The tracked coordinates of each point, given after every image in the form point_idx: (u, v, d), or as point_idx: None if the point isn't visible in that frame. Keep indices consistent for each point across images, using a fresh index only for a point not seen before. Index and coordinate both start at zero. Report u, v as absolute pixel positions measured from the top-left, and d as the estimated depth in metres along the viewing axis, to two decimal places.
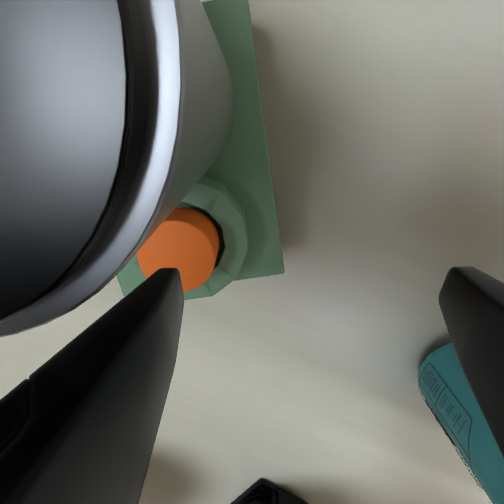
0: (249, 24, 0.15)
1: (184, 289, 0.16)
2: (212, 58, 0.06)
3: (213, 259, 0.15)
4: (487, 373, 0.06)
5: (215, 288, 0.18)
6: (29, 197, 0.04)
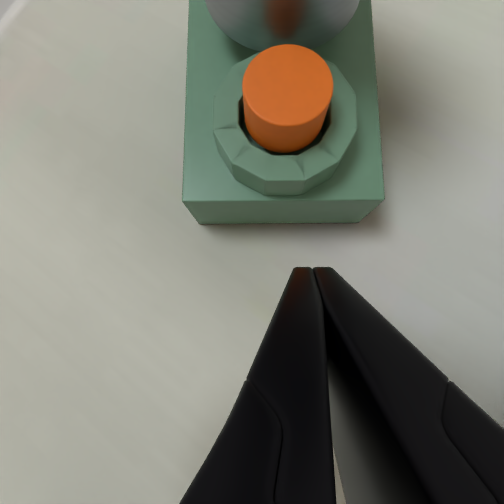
0: None
1: (289, 122, 0.13)
2: None
3: (331, 90, 0.13)
4: None
5: (310, 170, 0.14)
6: None
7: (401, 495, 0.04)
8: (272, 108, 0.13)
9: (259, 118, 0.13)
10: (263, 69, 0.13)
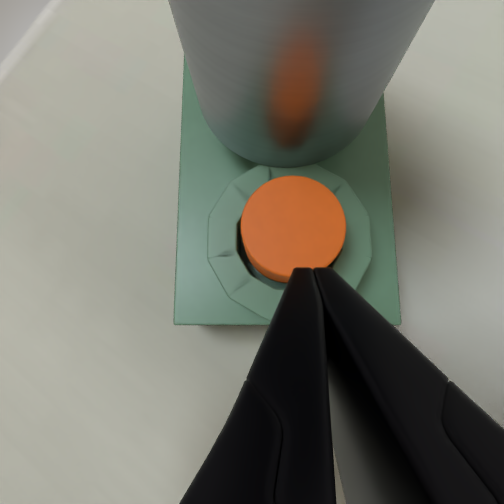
0: None
1: None
2: None
3: (344, 234, 0.11)
4: None
5: None
6: None
7: (401, 494, 0.04)
8: (275, 255, 0.11)
9: (260, 266, 0.11)
10: (265, 206, 0.11)
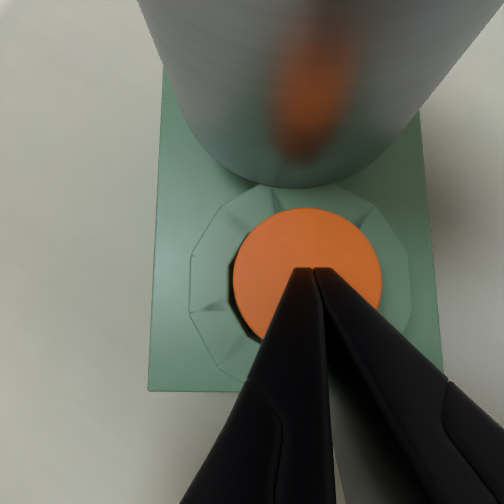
0: None
1: None
2: None
3: (379, 292, 0.08)
4: None
5: None
6: None
7: (401, 494, 0.04)
8: None
9: (261, 338, 0.08)
10: (267, 252, 0.08)
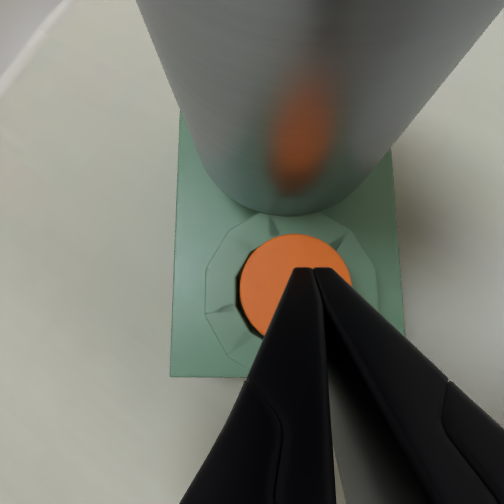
0: None
1: None
2: None
3: None
4: None
5: None
6: None
7: (402, 494, 0.04)
8: None
9: (261, 333, 0.10)
10: (265, 268, 0.11)
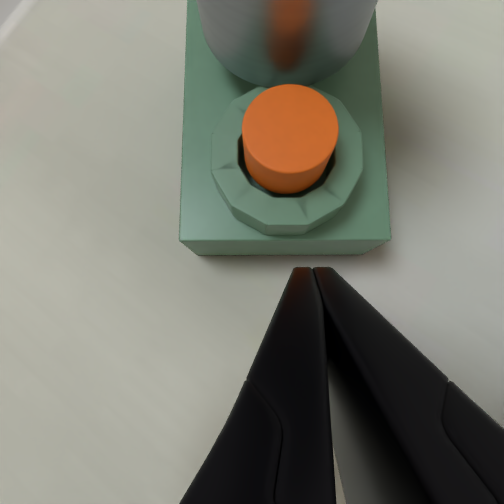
0: None
1: (291, 169, 0.12)
2: None
3: (336, 135, 0.12)
4: None
5: (314, 214, 0.14)
6: None
7: (402, 495, 0.04)
8: (274, 154, 0.12)
9: (260, 164, 0.12)
10: (264, 111, 0.12)
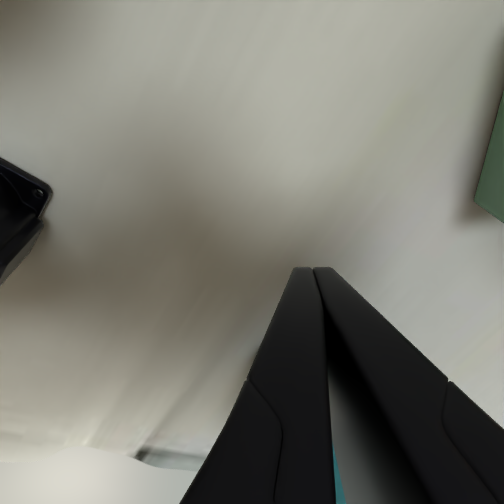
0: None
1: None
2: None
3: None
4: None
5: None
6: None
7: (402, 494, 0.04)
8: None
9: None
10: None
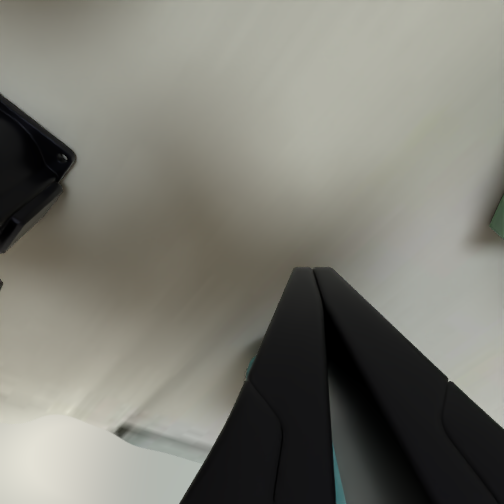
0: None
1: None
2: None
3: None
4: None
5: None
6: None
7: (401, 494, 0.04)
8: None
9: None
10: None
